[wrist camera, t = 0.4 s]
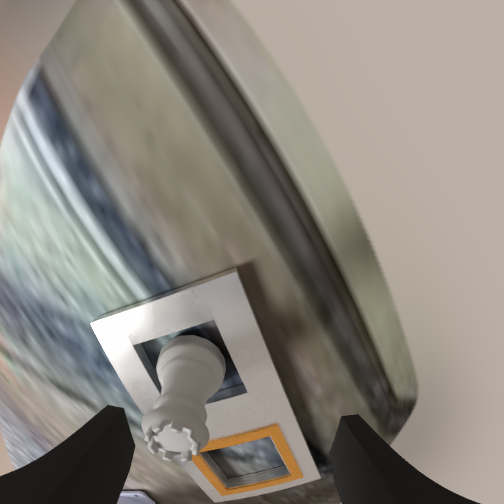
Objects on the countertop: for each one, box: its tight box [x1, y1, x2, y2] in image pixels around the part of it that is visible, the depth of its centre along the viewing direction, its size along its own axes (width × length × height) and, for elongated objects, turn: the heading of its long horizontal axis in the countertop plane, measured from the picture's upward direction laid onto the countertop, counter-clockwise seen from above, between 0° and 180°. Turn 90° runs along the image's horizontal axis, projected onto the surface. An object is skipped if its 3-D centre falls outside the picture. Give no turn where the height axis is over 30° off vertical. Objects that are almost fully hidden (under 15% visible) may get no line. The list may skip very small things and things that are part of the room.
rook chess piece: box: [141, 335, 226, 462], centre depth 15 cm, size 4×4×8 cm
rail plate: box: [90, 267, 321, 503], centre depth 19 cm, size 10×20×1 cm, turn 20°
